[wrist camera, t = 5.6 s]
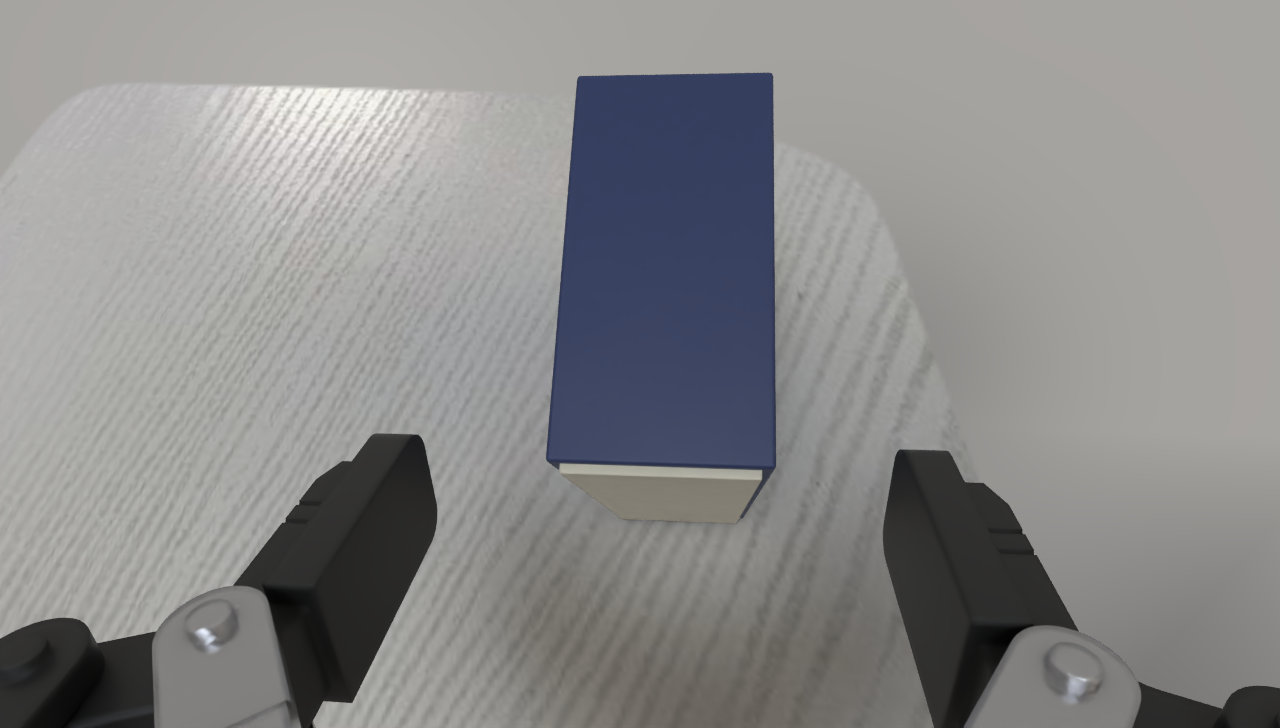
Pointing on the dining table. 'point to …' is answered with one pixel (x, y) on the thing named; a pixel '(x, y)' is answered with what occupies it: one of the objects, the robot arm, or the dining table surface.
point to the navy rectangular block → (668, 297)
